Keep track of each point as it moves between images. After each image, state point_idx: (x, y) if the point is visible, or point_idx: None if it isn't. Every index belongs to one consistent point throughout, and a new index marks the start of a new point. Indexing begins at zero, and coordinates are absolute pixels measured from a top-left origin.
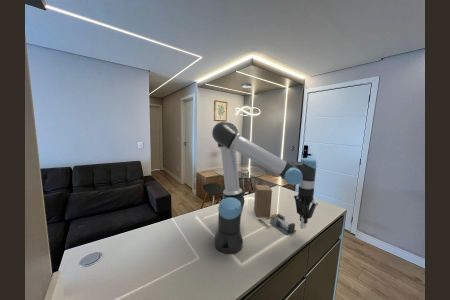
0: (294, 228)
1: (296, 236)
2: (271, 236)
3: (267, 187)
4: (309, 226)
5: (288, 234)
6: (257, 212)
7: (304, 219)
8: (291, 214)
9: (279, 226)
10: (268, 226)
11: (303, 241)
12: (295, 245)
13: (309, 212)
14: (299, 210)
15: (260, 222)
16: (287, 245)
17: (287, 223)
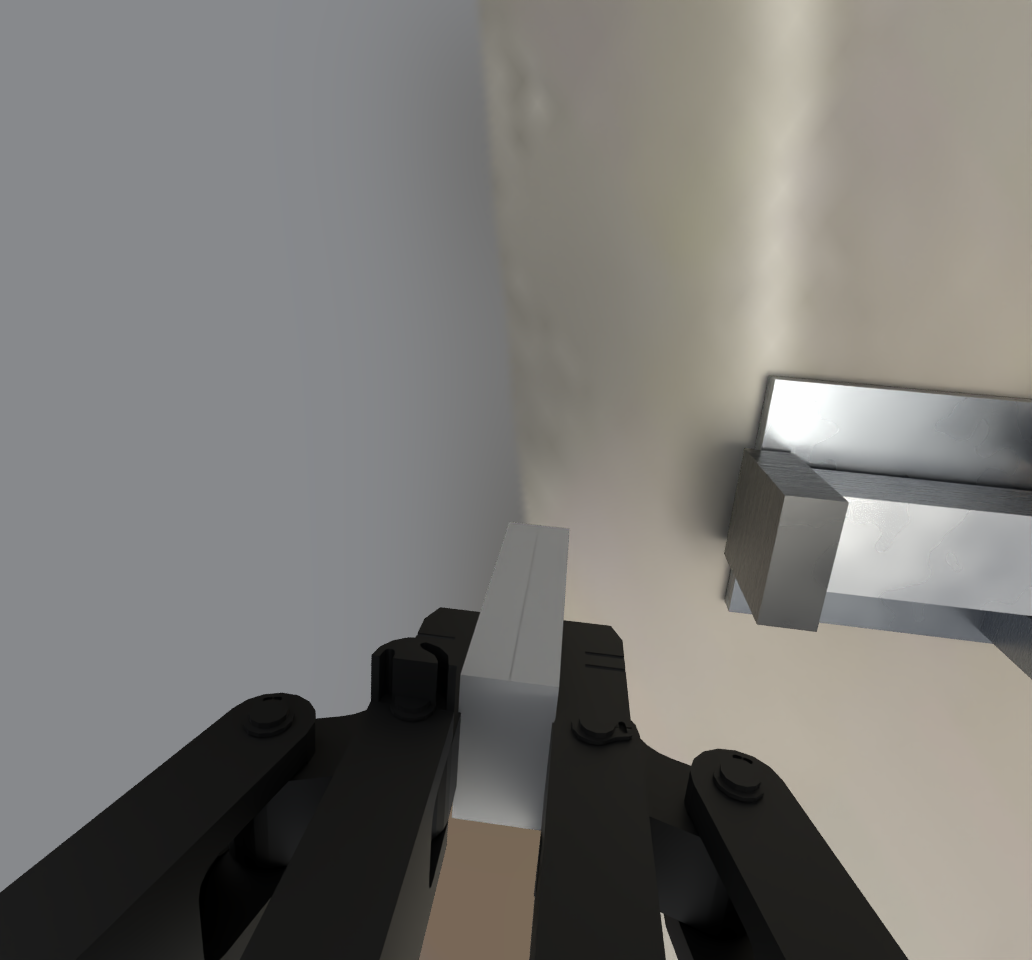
0: (737, 576)
1: (650, 499)
2: (947, 90)
3: None
4: None
5: (759, 429)
6: None
7: (456, 674)
8: (1028, 956)
9: (998, 473)
10: None
11: (521, 479)
12: (534, 284)
13: (23, 945)
14: (749, 941)
15: None
16: (608, 157)
17: (907, 583)
